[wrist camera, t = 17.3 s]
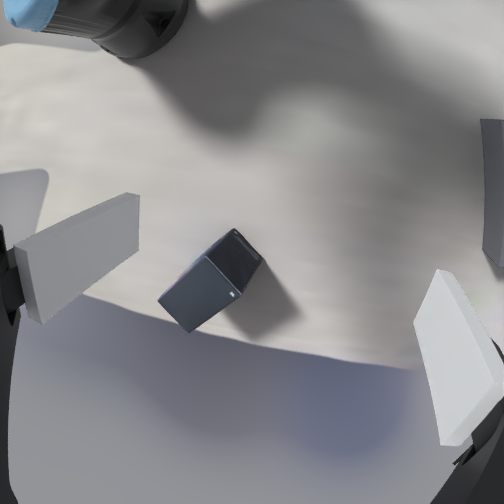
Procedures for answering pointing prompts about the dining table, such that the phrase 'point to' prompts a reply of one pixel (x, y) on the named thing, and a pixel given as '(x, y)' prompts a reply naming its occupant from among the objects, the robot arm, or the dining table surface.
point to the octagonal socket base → (493, 189)
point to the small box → (211, 281)
